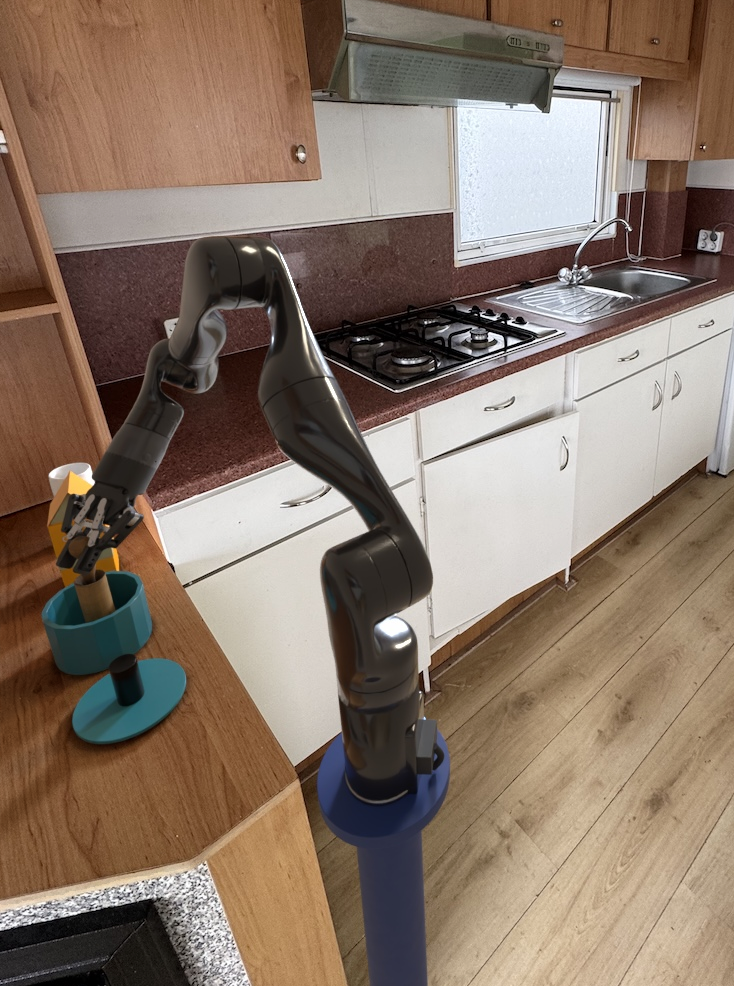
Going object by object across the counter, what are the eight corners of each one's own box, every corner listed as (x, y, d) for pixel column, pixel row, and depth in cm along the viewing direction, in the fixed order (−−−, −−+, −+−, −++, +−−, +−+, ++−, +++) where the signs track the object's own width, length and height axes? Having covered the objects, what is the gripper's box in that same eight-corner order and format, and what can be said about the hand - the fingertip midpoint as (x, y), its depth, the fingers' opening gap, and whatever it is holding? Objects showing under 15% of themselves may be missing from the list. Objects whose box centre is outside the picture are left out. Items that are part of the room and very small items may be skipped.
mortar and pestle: (88, 626, 92) (61, 529, 86) (134, 616, 94) (111, 522, 88) (74, 657, 86) (44, 556, 80) (124, 646, 88) (98, 547, 82)
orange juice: (119, 557, 110) (96, 464, 103) (120, 584, 103) (96, 485, 96) (68, 572, 106) (41, 475, 99) (66, 600, 99) (37, 498, 92)
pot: (140, 602, 99) (131, 560, 96) (161, 644, 90) (151, 600, 87) (49, 640, 90) (36, 595, 88) (63, 690, 82) (48, 643, 79)
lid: (171, 649, 89) (163, 612, 87) (200, 705, 80) (191, 665, 78) (66, 699, 80) (53, 659, 78) (84, 768, 71) (71, 726, 69)
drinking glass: (69, 551, 111) (50, 483, 106) (63, 535, 116) (45, 469, 111) (110, 537, 115) (93, 471, 110) (103, 523, 120) (87, 458, 115)
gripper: (183, 475, 91) (126, 586, 84) (120, 458, 96) (62, 562, 89) (146, 459, 84) (81, 579, 78) (81, 442, 89) (14, 553, 83)
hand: (71, 569), depth 83 cm, fingers closed on mortar and pestle, 3 cm apart
